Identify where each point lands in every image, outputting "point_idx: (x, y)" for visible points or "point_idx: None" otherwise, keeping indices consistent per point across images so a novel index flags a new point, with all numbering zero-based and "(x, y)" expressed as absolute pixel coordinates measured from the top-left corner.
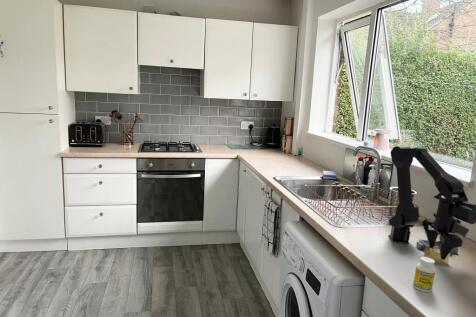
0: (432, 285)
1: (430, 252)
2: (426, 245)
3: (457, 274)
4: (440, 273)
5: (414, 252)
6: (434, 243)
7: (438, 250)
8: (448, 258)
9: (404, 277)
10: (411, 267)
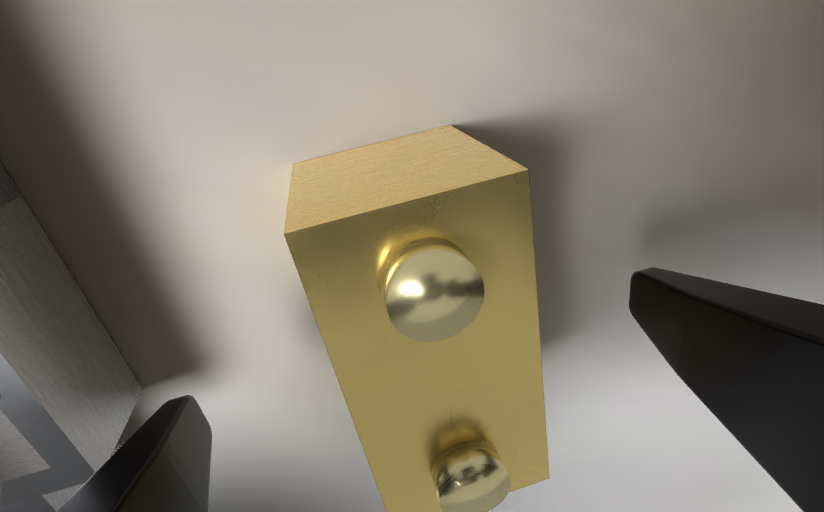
0: None
1: (542, 465)
2: (72, 471)
3: (762, 77)
4: (743, 277)
5: (275, 482)
6: (140, 485)
7: (427, 372)
8: (485, 149)
9: None
10: (657, 478)
